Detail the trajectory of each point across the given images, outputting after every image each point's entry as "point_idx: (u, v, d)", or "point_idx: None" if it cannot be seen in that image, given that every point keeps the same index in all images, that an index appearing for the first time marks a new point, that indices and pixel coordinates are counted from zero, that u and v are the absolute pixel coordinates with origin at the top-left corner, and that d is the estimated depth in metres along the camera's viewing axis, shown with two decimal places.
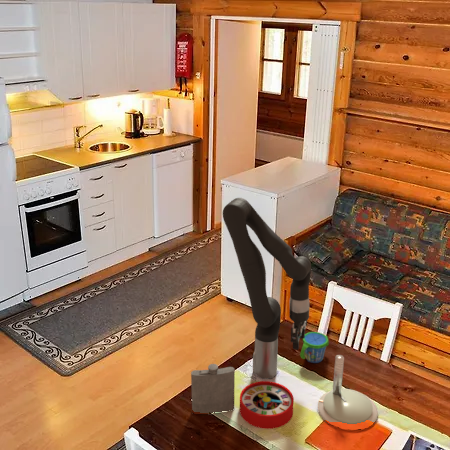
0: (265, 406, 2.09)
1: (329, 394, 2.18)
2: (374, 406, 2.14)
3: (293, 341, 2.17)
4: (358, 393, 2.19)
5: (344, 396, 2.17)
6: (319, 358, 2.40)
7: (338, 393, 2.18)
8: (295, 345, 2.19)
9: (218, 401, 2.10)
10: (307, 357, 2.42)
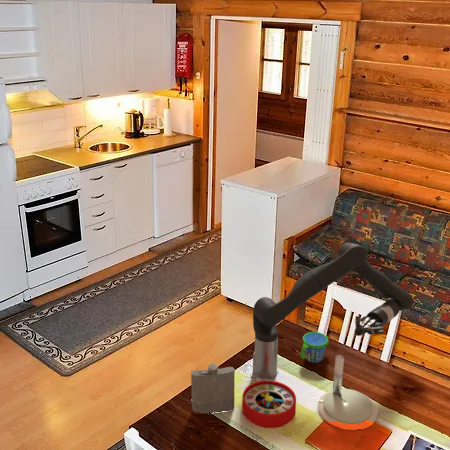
0: (268, 405, 2.09)
1: (329, 394, 2.18)
2: (374, 406, 2.14)
3: None
4: (358, 393, 2.19)
5: (344, 396, 2.17)
6: (319, 358, 2.40)
7: (338, 393, 2.18)
8: (363, 332, 2.19)
9: (218, 401, 2.10)
10: (307, 357, 2.42)
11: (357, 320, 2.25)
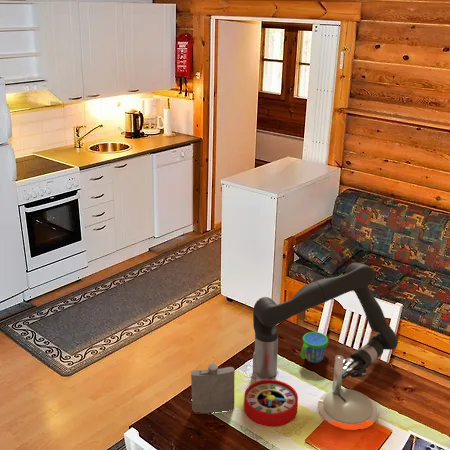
0: (270, 404, 2.10)
1: (329, 394, 2.18)
2: (374, 406, 2.14)
3: None
4: (358, 393, 2.19)
5: (344, 396, 2.17)
6: (319, 358, 2.40)
7: (338, 393, 2.18)
8: (346, 376, 2.19)
9: (218, 401, 2.10)
10: (307, 357, 2.42)
11: None
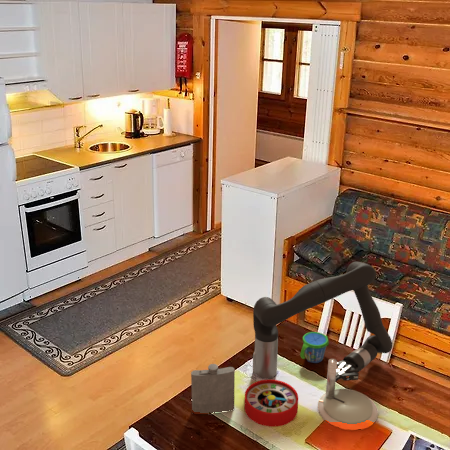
0: (270, 404, 2.10)
1: (325, 401, 2.15)
2: (374, 406, 2.14)
3: None
4: (347, 390, 2.20)
5: (339, 397, 2.16)
6: (319, 358, 2.40)
7: (333, 397, 2.16)
8: (337, 379, 2.17)
9: (218, 401, 2.10)
10: (307, 357, 2.42)
11: None
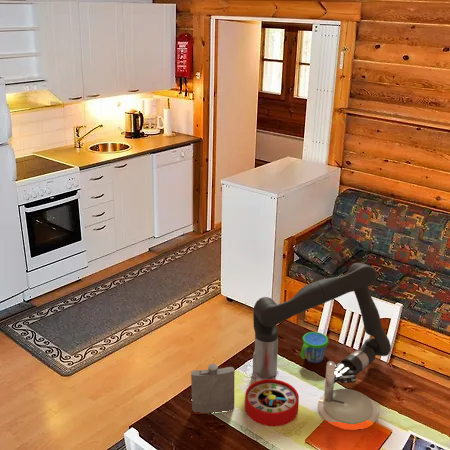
0: (270, 404, 2.10)
1: (326, 404, 2.13)
2: (374, 406, 2.14)
3: (343, 379, 2.16)
4: (342, 390, 2.21)
5: (337, 399, 2.16)
6: (319, 358, 2.40)
7: (332, 399, 2.15)
8: (335, 381, 2.16)
9: (218, 401, 2.10)
10: (307, 357, 2.42)
11: None
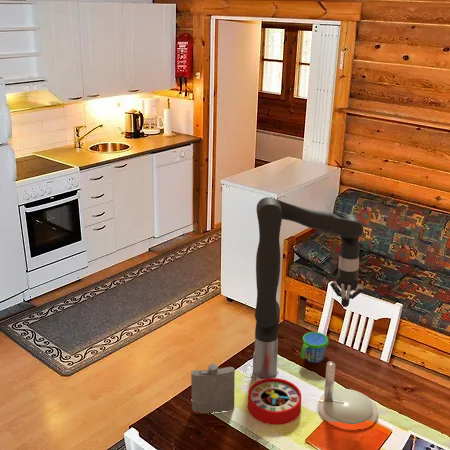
0: (274, 402, 2.11)
1: (326, 404, 2.13)
2: (374, 406, 2.14)
3: None
4: (342, 390, 2.21)
5: (337, 399, 2.16)
6: (319, 358, 2.40)
7: (332, 399, 2.15)
8: None
9: (218, 401, 2.10)
10: (307, 357, 2.42)
11: (335, 290, 2.22)
